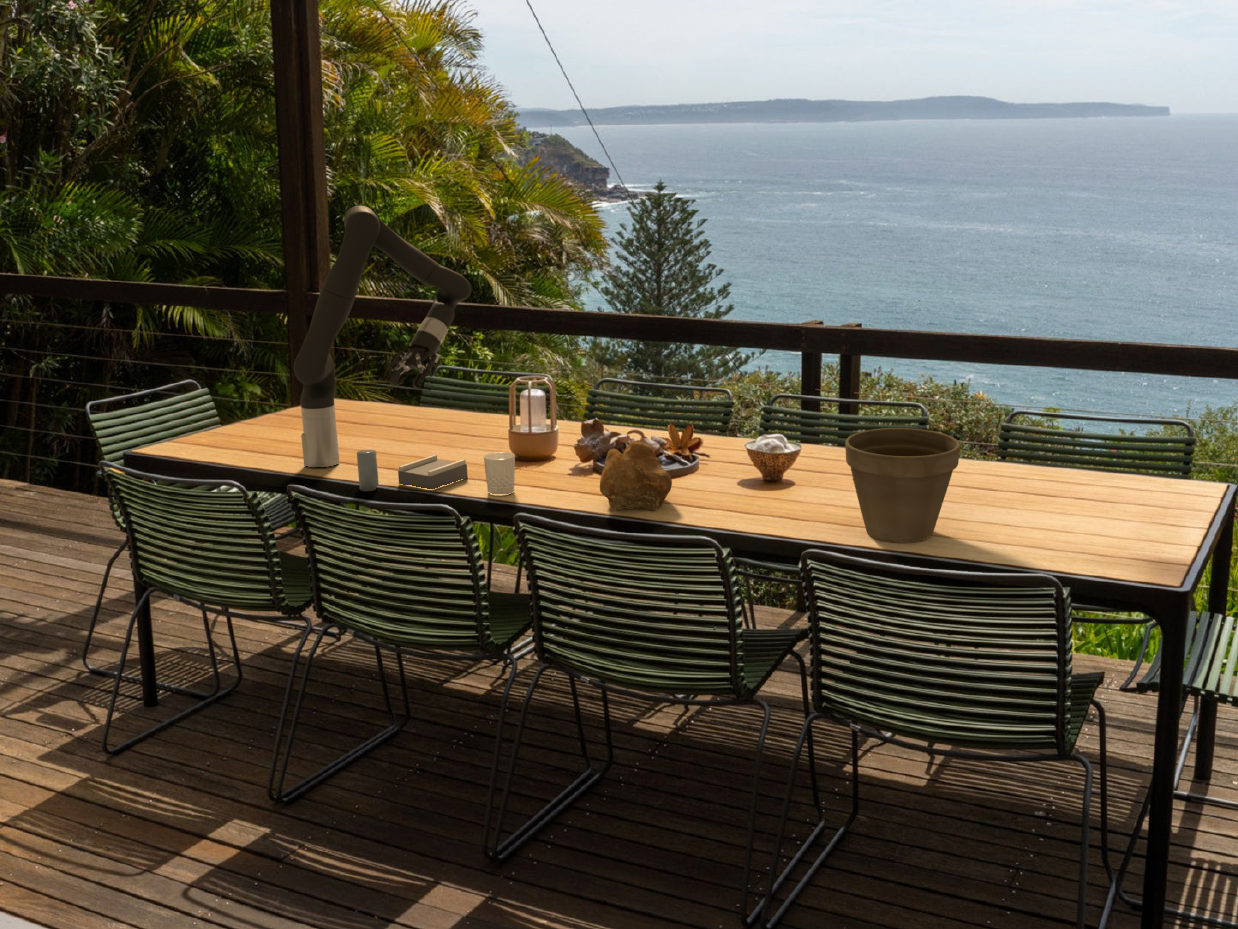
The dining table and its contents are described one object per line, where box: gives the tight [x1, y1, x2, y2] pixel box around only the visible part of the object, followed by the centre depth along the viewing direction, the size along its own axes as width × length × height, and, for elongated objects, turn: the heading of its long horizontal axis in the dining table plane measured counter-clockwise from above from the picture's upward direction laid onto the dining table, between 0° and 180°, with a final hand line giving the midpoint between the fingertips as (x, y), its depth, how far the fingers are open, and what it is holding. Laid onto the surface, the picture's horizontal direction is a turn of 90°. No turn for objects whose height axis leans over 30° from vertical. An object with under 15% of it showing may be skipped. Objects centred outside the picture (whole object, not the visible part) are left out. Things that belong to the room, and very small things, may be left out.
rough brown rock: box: [599, 440, 673, 511], centre depth 295 cm, size 23×17×15 cm
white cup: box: [483, 451, 516, 494], centre depth 308 cm, size 8×8×10 cm
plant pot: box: [845, 427, 961, 544], centre depth 267 cm, size 25×25×22 cm
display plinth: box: [397, 454, 468, 489], centre depth 321 cm, size 14×12×5 cm
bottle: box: [356, 449, 380, 492], centre depth 315 cm, size 5×5×10 cm
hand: (403, 385), depth 325 cm, fingers open, 8 cm apart
